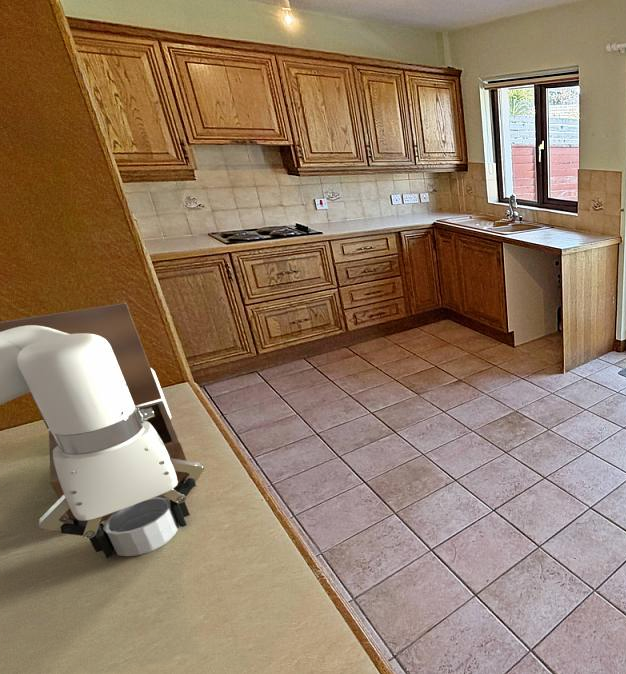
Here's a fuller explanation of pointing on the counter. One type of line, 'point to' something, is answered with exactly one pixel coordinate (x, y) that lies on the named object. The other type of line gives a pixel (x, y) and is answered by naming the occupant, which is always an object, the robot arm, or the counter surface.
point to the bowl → (141, 527)
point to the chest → (162, 428)
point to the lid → (119, 334)
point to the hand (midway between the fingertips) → (146, 535)
